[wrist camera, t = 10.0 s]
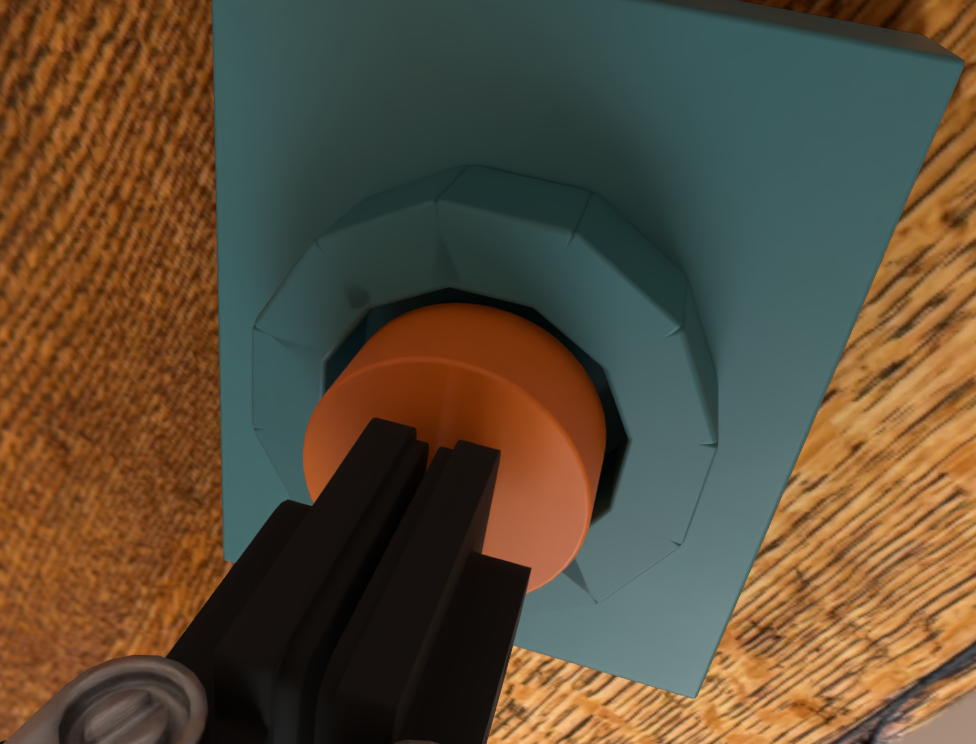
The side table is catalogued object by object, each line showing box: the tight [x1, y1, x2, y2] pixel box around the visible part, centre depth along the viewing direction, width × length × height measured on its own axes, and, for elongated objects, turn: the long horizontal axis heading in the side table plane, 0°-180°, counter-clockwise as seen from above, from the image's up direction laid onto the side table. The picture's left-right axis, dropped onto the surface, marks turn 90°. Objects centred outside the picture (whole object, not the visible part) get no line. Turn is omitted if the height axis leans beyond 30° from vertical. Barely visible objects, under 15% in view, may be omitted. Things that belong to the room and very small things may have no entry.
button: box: [303, 303, 606, 594], centre depth 12 cm, size 4×4×2 cm
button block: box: [212, 0, 964, 698], centre depth 14 cm, size 12×10×4 cm
